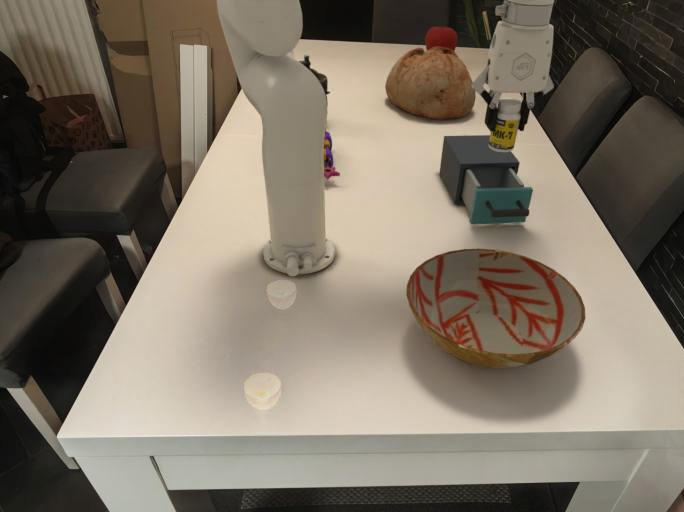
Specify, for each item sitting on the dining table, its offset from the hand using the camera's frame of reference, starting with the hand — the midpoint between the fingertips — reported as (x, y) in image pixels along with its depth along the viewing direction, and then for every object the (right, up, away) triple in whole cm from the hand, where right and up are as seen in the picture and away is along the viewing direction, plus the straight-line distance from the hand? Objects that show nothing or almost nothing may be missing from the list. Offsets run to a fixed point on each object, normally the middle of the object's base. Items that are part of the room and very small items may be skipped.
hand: (504, 127), depth 100 cm
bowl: (-7, -39, -17) cm, 43 cm away
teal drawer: (0, -13, +10) cm, 17 cm away
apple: (-1, +59, +92) cm, 109 cm away
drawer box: (-2, -5, +20) cm, 21 cm away
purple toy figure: (-40, +2, +26) cm, 47 cm away
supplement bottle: (0, -3, +3) cm, 4 cm away
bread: (-8, +29, +58) cm, 65 cm away
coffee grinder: (-42, +17, +43) cm, 62 cm away
